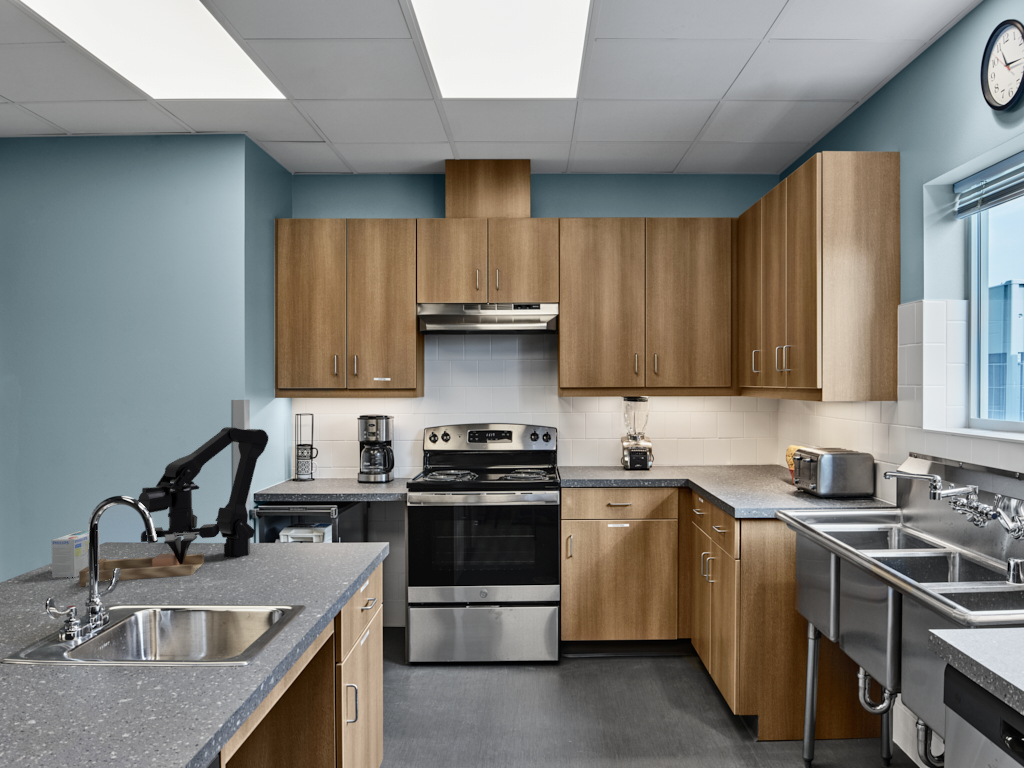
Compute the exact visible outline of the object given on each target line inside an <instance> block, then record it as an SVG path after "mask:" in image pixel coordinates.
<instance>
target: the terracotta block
mask: <svg viewBox="0 0 1024 768" xmlns="http://www.w3.org/2000/svg"><path fill="white" fill-rule="evenodd" d="M154 557H155V558H153V559H152V567H159V566H173V565H179V562H178V560H177V558H176V556H175V554H174V552H171V553H170V552H169V553H159V554H158V555H156V556H154Z"/></svg>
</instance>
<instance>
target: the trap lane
mask: <svg viewBox="0 0 1024 768" xmlns="http://www.w3.org/2000/svg"><path fill="white" fill-rule="evenodd" d="M155 557H156V556H151V557H150V556H149V557H148V556H147V557H137V558H135V557H134V558H118V559H117V558H116V559H107V558H100V559H99V560H98V564H99V582H98V583H101V582H100V581H103V582H106V581H105V580H109V579H110V580H111V579H112V576H113V569H115V568H120V572H121V575H120V577H119V580H118V581H128V580H140V579H141V580H143V579H144V580H145V579H155V578H157V579H158V578H167V577H168V578H169V577H183V576H192V575H193V574H194V573H195V572H196V571H197V570H198V569H199V568H200V567H201V566H203V564H204V563H205V553H194V554H186V557H185V560H184V563H183V564H179V565H173V566H159V567H152V559H153V558H155ZM78 579H79V582H78V583H79V588H82V587H81V586H85V587H89V586H88V583H89V566H88V567H86V568H84V569H83V570H81V571H79V576H78ZM86 585H87V586H86Z"/></svg>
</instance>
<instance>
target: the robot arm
mask: <svg viewBox="0 0 1024 768" xmlns="http://www.w3.org/2000/svg"><path fill="white" fill-rule="evenodd" d="M268 442H269V435H268V434H267V431H266V430H264V429H259V428H258V429H257V428H246V429H243V428H237V427H235V426H233V427H231V426H230V427H229V426H225V427H223V428H222V429H221V430H220V431H219V432H218V433H217V434H215V435H214V436H212V437H211V438H210V439H209V440H207V441H206V442H205V443H203V444H202V445H201V446H200V447H198V448H196V450H194V451H192V452H191V453H190V454H188V455H186V456H185V455H184V456H183V457H179V458H177V459H176V460H174V461H172V462H170V463H168V464H167V465H166V467H165V468H164V473H163V475H162V476H161V478H160V479H159V481H158V482H157V483H156V485H155V486H152V487H148V486H146V487H142V490H141V493H140V494H139V496H138V499H137V502H138V501H139V502H141V503H142V504H143V505H144V506H145V507H146V508H147V510H148V511H149V513H148V514H151V513H157V512H158V513H159V512H163V511H167V510H168V513H167V517H168V525H169V526H168V529H163V527H162V526H159V527H154V528H155V531H156V534H157V538H165V539H164V542H163V543H164V545H166V544H167V545H168V547H170V549H171V550H172V553H174V554H175V556H176V558H177V560H178V562H179V564H183V563H184V560H185V557H186V555H188V550H189V547H190V545H191V544H192V542H194V541H195V540H197V538H198V536H199V537H200V538H202V539H209V538H215V537H217V536H218V535H219V534H220V535H221V536H222V538H223V539H224V538H226V539H225V543H224V544H223V557H225V558H241V557H247V556H249V555H251V538H254V536H255V532H256V530H255V529H254V528H253V527H252V526H251V525H250V524H248V518H249V515H248V510H247V501H248V497H249V493H250V490H251V485H252V482H253V481H252V480H253V477H254V472H255V470H256V465H257V462H258V459H259V458H260V456H262V455H263V453H264V452H265V449H266V448H267V444H268ZM232 443H238V446H237V447H238V451H239V455H240V458H239V461H238V464H237V468H236V473H235V476H234V481H233V484H232V488H231V491H230V496H229V500H228V502H227V504H226V505H225V506H224V507H219V508H218V512H217V516H216V519H215V520H214V521H215V522H216V523H210V524H209V523H207V524H203V525H201V527H198V526H197V525H198V516H197V515H195V514H194V509H193V493H192V492H193V491H194V490H199V489H200V486H199V485H197V484H196V483H195V482H194V481H193V480H194V479H195V478H196V477H197V476H198V475H199V474H200V472H201V471H202V468H203V467H204V466H205V464H206V463H208V462H209V461H210V460H212V459H213V458H214V457H215V456H217V455H218V454H220V453H221V452H222V451H223V450H224V449H225V448H226V447H228V446H230V445H231V444H232ZM182 537H183V539H182ZM157 538H156V539H157ZM147 542H148V541H147V535H146V529H145V530H143V531H142V532H141V534H140V543H147ZM148 543H149V542H148Z"/></svg>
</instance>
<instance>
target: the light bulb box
mask: <svg viewBox="0 0 1024 768" xmlns="http://www.w3.org/2000/svg"><path fill="white" fill-rule="evenodd" d="M89 531H90V530H86V531H85V530H79V531H75V532H73V533H70V534H67V535H63V536H60V537H57V538H53V539H51V569H52V570H51V574H52V575H51V577H66V578H65V579H75V578H77V577H79V571H81V570H83V569H84V568H86V567H88V549H89ZM97 531H98V556H99V559H101V557H100V554H101V553H100V530H97ZM67 577H68V578H67ZM72 577H73V578H72ZM74 577H75V578H74Z"/></svg>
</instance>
